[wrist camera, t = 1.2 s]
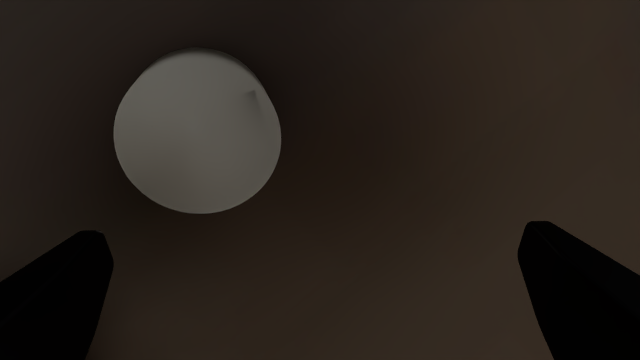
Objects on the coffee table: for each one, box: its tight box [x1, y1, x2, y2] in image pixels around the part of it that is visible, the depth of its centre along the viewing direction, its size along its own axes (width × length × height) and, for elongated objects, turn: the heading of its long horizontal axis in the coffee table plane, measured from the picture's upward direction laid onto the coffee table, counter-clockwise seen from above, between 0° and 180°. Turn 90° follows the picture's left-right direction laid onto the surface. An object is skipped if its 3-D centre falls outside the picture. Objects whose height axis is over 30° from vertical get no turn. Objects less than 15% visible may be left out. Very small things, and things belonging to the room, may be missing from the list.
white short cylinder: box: [114, 47, 281, 214], centre depth 18 cm, size 6×6×4 cm
